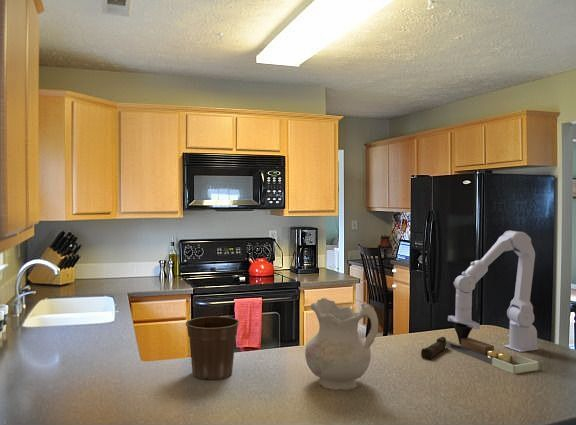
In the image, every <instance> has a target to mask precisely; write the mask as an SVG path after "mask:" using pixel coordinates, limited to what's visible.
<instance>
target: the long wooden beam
mask: <svg viewBox="0 0 576 425" xmlns="http://www.w3.org/2000/svg"><path fill="white" fill-rule="evenodd" d="M460 345H461V346H464V347H466V348H469V349H472V350H474V351H477V352H480V353H483V354H485V355H487V350H490V349H492V350H495V345H492V344H489V343H486V342H483V341H480V340H478V339H474V338H472V337H468V338H462V339H461V344H460Z"/></svg>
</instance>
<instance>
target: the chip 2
mask: <svg viewBox="0 0 576 425" xmlns="http://www.w3.org/2000/svg"><path fill="white" fill-rule="evenodd" d="M510 355H511V354H510V353H509V352H505V351H504V352H503V351H500V352H499V353H498V360H501V361H504V362H507V363H509V364H511V362H510Z"/></svg>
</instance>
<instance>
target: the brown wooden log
mask: <svg viewBox="0 0 576 425" xmlns="http://www.w3.org/2000/svg"><path fill="white" fill-rule="evenodd" d="M446 341H447V338H446V337H445V336H440V337H438V338H437V339H436V341H435V342H434V343H432V344H430V345H428V347H425V348H422V349H421V351H420V354H421V355H420V357H421V358H422V359H425V360H432V359H433V357H434V356H435V355H437V354H439V353H440V352H444V351H445V350H446Z"/></svg>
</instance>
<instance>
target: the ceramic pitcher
mask: <svg viewBox="0 0 576 425" xmlns="http://www.w3.org/2000/svg"><path fill="white" fill-rule="evenodd" d="M310 309H311V310H312V312H314V313H315V315H316V318H317V320H318V324H319V327H318V328H319V330H318V332H317V333H316V335H314V336H313V337H312V338H311V339H309V340H308V341H307V343H306V345H305V352H304V354H305V361H306V364H307V366H308V369H310V371H311V372H312V374H314V376H316V377H318V378H319V379H318V384H319V386H320V387H321V388H325V389H327V390H329V391H345V390H346V391H348V390H354V389H355V388H356V387H358V386H359V384H358V382H357V381H356V380H358V379H360V378H362V376H363V375H364V374H365V373H366V371H367V370H368V368H369V366H370V364H371V358H372V357H371V345H373V343H374V342H375V339H376V337H377V335H378V332H379V318H378V315H377V312H376V311H375V307H374V306H373V303H372V304H371V303H363V304H361V309H360V311H359V312H356V311H354V310H353V309H352V308H351V306H345V305H344V306H341V305H340V306H338V305H337V304H336V301H334V300H331V299H328V298H327V297H326V298H325V297H324V298H321V299H318V300H317V301H316V302H315V303H314V302H313V303H311V305H310ZM363 318H368V319H369V320H370V329H369V332H368V334H367V336H366V338H365V340H364V339H363V338H362V337H361V336H360V335H359V333H358V332H359V331H358V328H359V321H360V320H361V319H363Z"/></svg>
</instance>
